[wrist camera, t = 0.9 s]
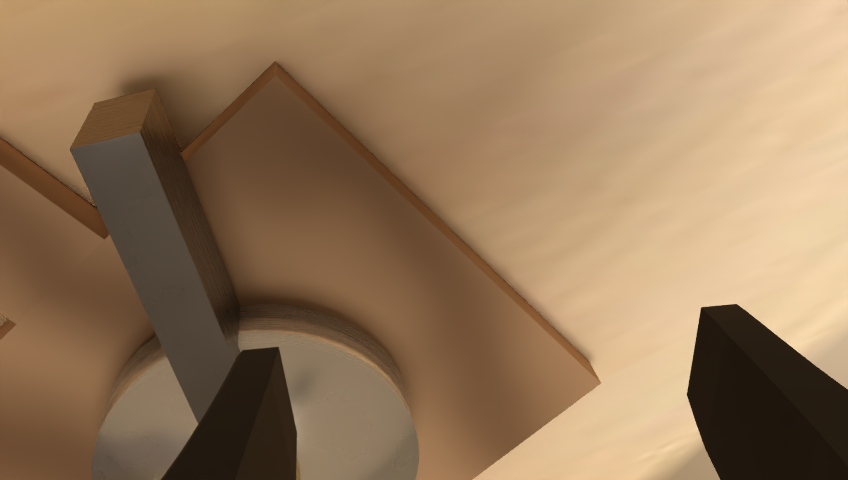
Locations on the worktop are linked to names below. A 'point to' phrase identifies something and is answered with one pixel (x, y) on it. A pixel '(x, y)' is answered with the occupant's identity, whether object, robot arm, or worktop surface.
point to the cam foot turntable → (220, 324)
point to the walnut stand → (274, 291)
